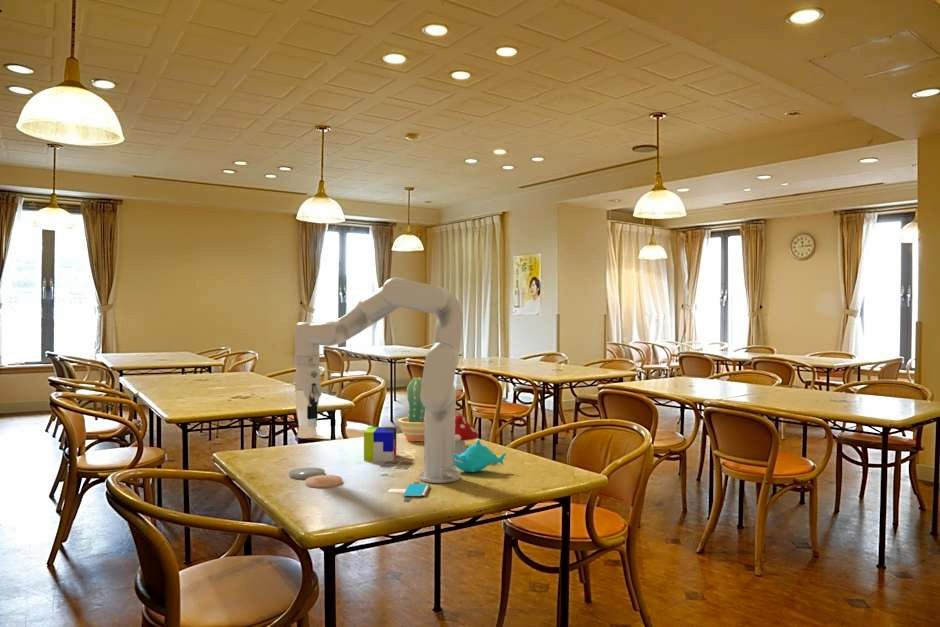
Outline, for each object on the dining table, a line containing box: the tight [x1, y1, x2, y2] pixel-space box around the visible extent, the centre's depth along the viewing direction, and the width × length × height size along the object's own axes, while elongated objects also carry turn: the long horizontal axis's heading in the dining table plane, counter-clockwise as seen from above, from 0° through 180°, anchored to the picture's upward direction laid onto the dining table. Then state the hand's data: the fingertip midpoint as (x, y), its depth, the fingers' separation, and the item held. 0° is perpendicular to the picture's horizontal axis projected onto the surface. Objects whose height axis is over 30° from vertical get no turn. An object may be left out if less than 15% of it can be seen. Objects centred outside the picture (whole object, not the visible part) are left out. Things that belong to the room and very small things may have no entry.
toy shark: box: [455, 438, 507, 473], centre depth 215 cm, size 10×18×11 cm, turn 91°
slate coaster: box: [288, 467, 326, 480], centre depth 210 cm, size 11×11×1 cm
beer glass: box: [295, 389, 319, 439], centre depth 210 cm, size 7×7×15 cm
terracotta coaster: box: [304, 474, 343, 489], centre depth 201 cm, size 11×11×1 cm
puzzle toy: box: [363, 426, 397, 462], centre depth 235 cm, size 10×10×10 cm
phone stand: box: [387, 481, 431, 502], centre depth 192 cm, size 20×12×2 cm, turn 176°
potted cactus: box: [397, 377, 425, 442], centre depth 267 cm, size 15×15×25 cm
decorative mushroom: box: [455, 414, 479, 455], centre depth 237 cm, size 14×14×15 cm
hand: (307, 416), depth 210 cm, fingers closed on beer glass, 6 cm apart
